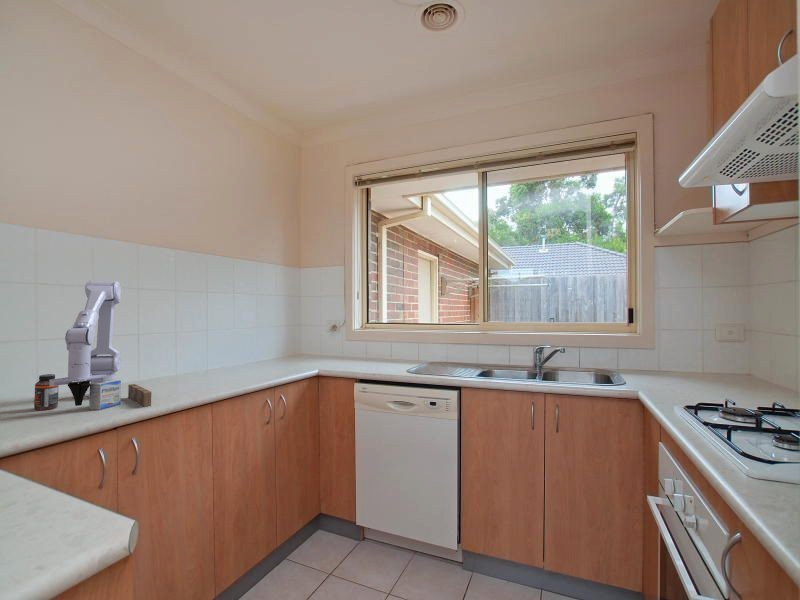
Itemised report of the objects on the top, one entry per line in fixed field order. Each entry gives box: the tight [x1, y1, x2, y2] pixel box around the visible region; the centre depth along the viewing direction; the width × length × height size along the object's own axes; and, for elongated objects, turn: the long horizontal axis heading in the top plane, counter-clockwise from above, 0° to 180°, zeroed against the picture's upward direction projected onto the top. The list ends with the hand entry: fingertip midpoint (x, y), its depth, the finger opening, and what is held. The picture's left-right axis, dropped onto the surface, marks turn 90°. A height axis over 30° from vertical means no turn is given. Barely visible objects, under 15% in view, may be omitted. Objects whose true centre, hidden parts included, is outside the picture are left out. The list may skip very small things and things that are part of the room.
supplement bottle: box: [33, 373, 60, 411], centre depth 132 cm, size 6×6×11 cm
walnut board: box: [127, 383, 152, 408], centre depth 142 cm, size 20×2×5 cm, turn 48°
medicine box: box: [88, 379, 122, 411], centre depth 135 cm, size 8×4×9 cm, turn 168°
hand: (78, 405), depth 129 cm, fingers closed
